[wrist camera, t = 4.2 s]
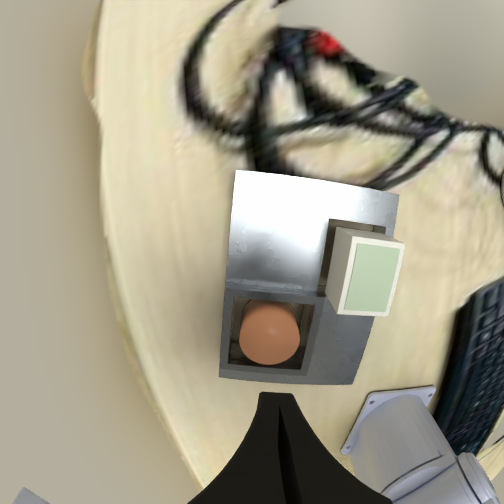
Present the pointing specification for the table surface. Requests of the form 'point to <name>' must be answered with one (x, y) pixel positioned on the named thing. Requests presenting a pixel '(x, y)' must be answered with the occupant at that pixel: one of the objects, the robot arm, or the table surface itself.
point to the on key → (363, 272)
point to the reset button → (269, 331)
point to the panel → (296, 271)
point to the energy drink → (502, 187)
